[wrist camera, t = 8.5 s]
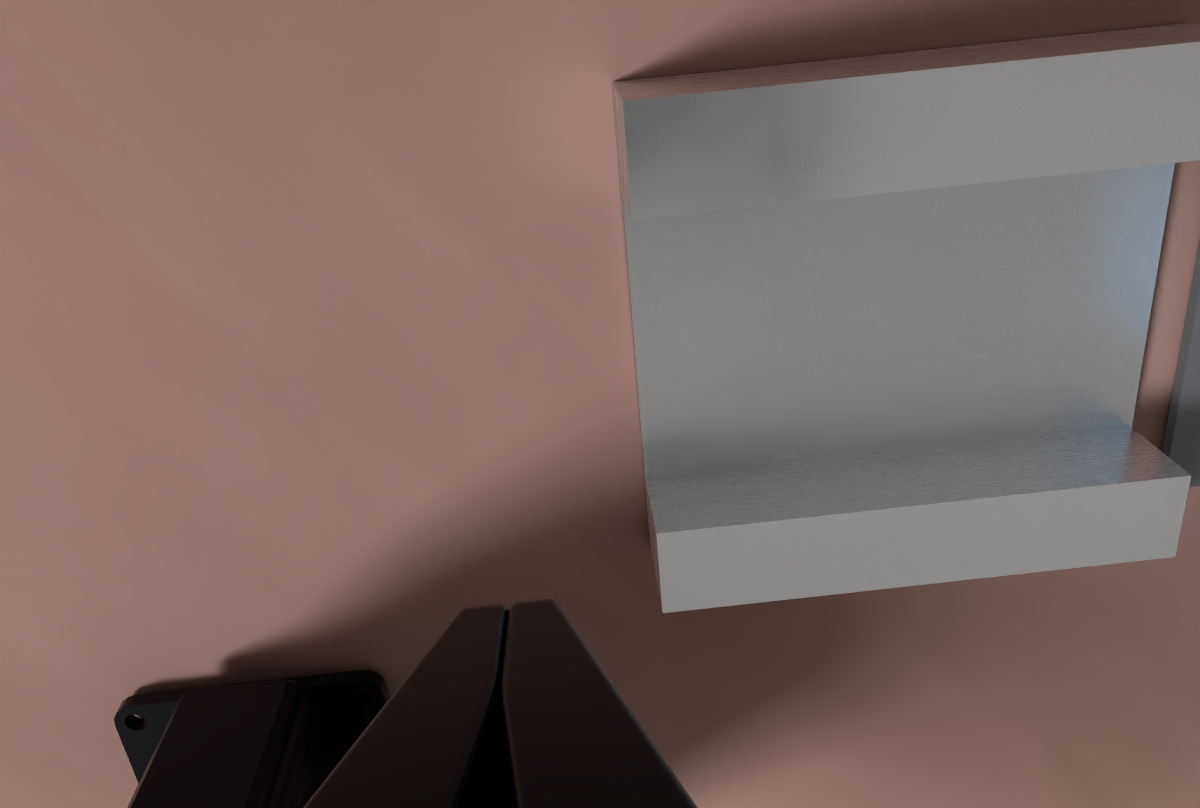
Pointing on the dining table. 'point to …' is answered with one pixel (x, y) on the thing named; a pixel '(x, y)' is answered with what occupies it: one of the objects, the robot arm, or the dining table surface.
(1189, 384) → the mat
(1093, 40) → the chute
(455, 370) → the dining table surface
